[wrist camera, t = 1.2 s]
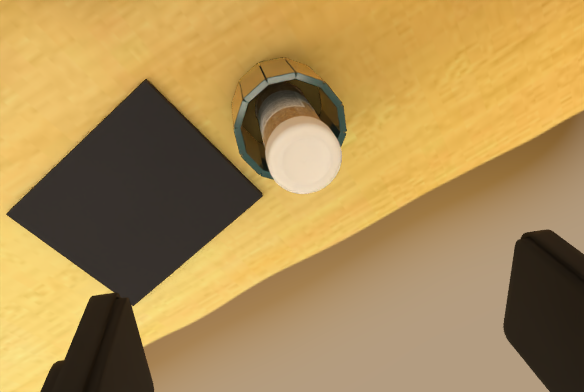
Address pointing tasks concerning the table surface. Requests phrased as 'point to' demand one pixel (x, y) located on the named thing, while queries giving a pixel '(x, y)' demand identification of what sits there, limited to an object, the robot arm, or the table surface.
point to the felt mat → (136, 196)
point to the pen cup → (273, 74)
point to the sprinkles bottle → (296, 140)
